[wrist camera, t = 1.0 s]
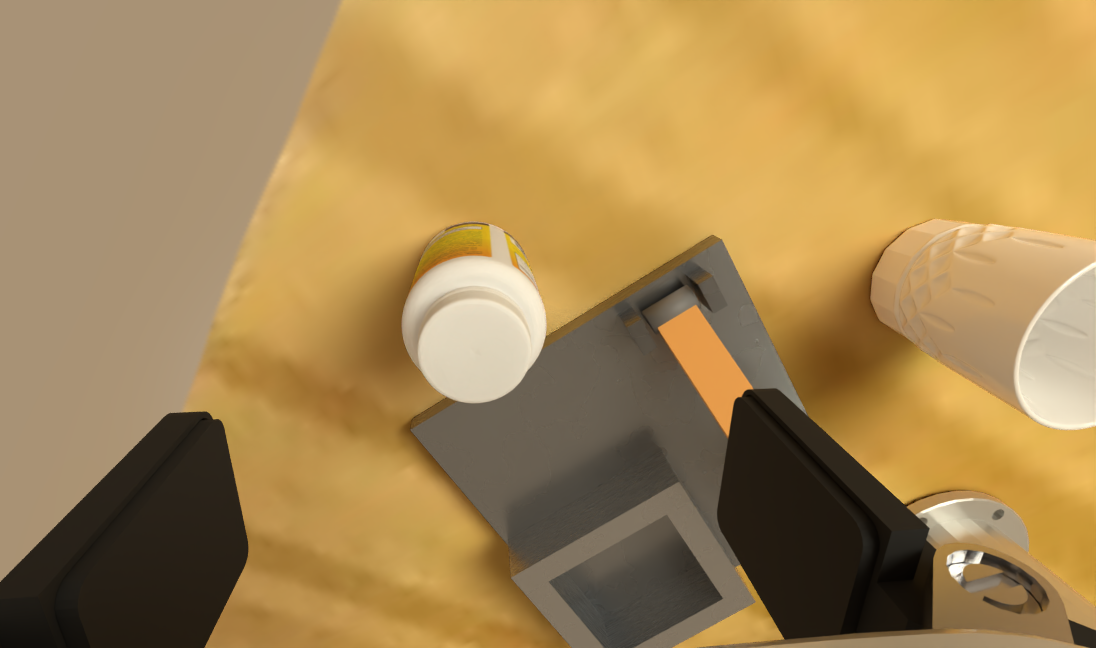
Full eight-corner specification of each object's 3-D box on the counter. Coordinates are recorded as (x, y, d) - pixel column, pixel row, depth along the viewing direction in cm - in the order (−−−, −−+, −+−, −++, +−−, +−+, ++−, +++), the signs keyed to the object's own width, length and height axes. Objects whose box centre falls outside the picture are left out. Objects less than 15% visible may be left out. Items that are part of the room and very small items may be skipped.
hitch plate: (839, 491, 37) (882, 536, 33) (589, 629, 39) (602, 688, 35) (712, 235, 30) (748, 253, 26) (412, 418, 31) (403, 462, 27)
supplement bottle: (400, 294, 29) (363, 385, 19) (451, 198, 27) (437, 244, 18) (497, 341, 30) (506, 447, 21) (549, 252, 29) (584, 321, 20)
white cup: (978, 330, 34) (1169, 414, 24) (853, 351, 33) (999, 445, 24) (1001, 197, 31) (1226, 235, 22) (864, 218, 30) (1034, 265, 21)
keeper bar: (813, 476, 26) (820, 476, 25) (764, 504, 26) (767, 506, 25) (686, 289, 29) (685, 281, 28) (642, 315, 30) (640, 308, 28)
